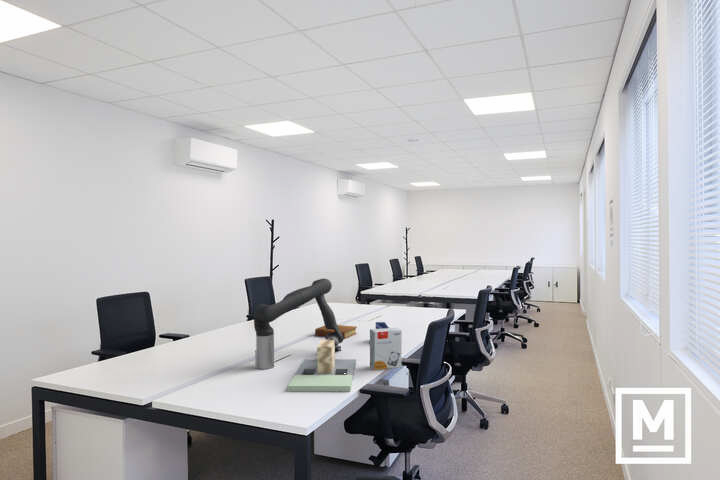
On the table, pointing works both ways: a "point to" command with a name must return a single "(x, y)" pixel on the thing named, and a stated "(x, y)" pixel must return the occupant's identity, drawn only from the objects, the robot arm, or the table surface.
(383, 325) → the phone stand
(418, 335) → the table surface
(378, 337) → the hard drive box
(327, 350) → the maple block
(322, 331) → the diary
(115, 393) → the table surface
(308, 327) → the table surface
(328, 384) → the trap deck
